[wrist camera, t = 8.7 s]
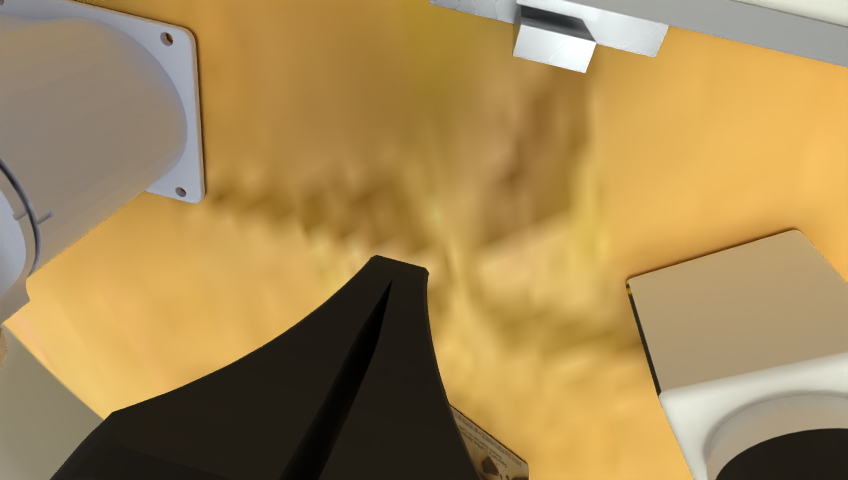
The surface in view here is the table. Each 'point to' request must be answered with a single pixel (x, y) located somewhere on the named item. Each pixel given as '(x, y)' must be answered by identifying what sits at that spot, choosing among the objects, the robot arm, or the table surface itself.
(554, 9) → the pivot stand
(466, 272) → the table surface
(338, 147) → the table surface
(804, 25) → the beam
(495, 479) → the coffee box
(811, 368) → the medicine bottle
